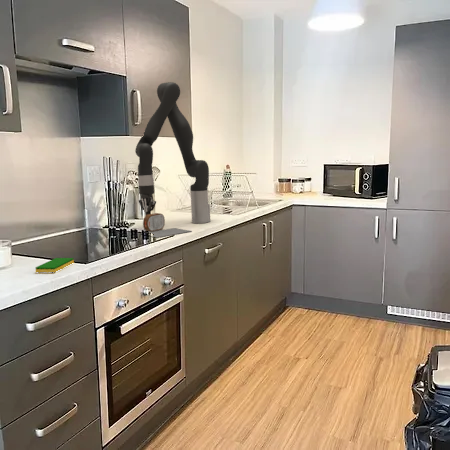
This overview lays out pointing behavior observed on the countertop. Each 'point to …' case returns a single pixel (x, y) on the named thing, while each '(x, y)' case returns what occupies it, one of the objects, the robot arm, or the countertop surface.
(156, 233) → the mat
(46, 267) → the dish sponge
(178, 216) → the countertop surface
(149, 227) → the tin
